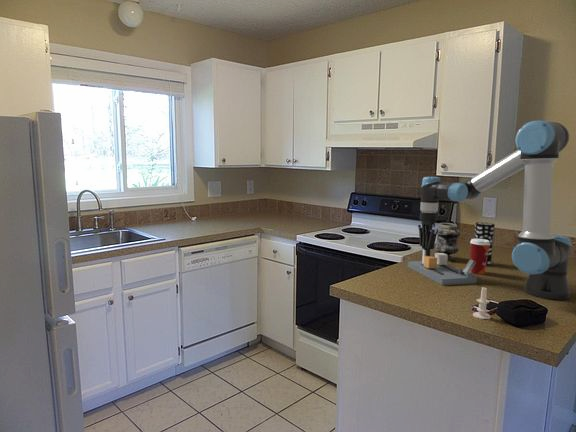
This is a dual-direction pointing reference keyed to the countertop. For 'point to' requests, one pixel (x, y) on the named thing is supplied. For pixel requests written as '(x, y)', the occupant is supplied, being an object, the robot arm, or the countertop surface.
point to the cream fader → (441, 258)
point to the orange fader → (430, 261)
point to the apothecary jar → (447, 239)
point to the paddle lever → (469, 266)
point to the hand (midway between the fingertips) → (425, 263)
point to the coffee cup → (479, 255)
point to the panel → (443, 274)
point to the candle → (482, 306)
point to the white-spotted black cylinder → (485, 236)
